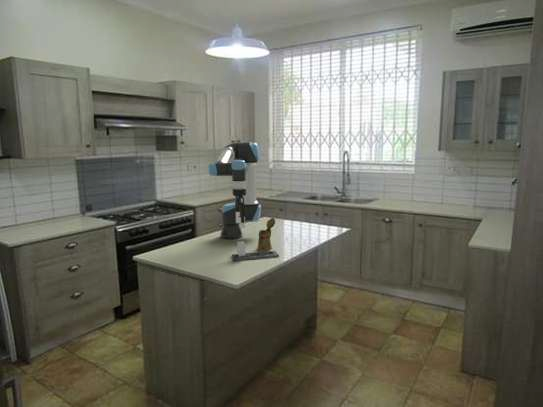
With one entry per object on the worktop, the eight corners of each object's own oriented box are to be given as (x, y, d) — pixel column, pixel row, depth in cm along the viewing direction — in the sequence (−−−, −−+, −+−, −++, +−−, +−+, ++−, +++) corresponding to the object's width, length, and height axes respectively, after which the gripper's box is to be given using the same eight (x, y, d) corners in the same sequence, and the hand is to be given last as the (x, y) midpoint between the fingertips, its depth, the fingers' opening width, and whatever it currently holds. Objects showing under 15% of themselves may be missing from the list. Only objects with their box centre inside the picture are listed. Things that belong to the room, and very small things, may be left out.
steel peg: (237, 256, 224) (236, 241, 222) (244, 256, 225) (243, 241, 223) (238, 258, 220) (238, 243, 219) (245, 258, 221) (245, 242, 220)
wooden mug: (279, 246, 244) (279, 218, 242) (265, 251, 234) (264, 222, 232) (268, 244, 250) (268, 216, 247) (254, 248, 240) (253, 220, 237)
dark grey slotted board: (231, 256, 226) (231, 254, 225) (274, 252, 232) (274, 250, 232) (234, 261, 217) (233, 259, 217) (278, 256, 223) (278, 254, 223)
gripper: (229, 185, 227) (230, 221, 231) (236, 191, 203) (237, 231, 207) (241, 185, 229) (243, 220, 232) (250, 191, 205) (251, 230, 209)
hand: (240, 225), depth 220 cm, fingers open, 13 cm apart
